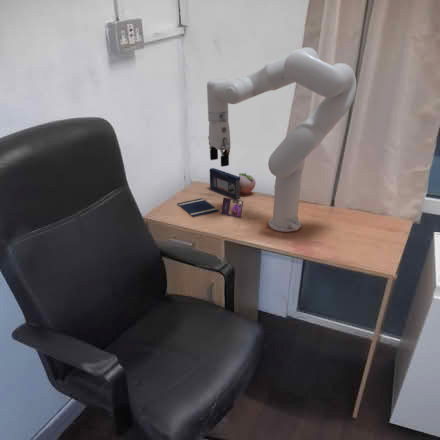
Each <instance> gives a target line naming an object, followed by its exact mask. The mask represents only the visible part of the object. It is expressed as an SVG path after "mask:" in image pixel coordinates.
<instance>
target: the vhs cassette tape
mask: <svg viewBox="0 0 440 440" xmlns="http://www.w3.org/2000/svg"><path fill="white" fill-rule="evenodd" d="M209 189H210V191H213V192H215V193H218V194H220V195H223V196H225V197H227V198H230V199H235V200H240V198H241V192H240V177H239V175H235V174H233V173H230V172H226V171H223V170H220V169H218V168H215V167H211V168H209Z"/></svg>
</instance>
